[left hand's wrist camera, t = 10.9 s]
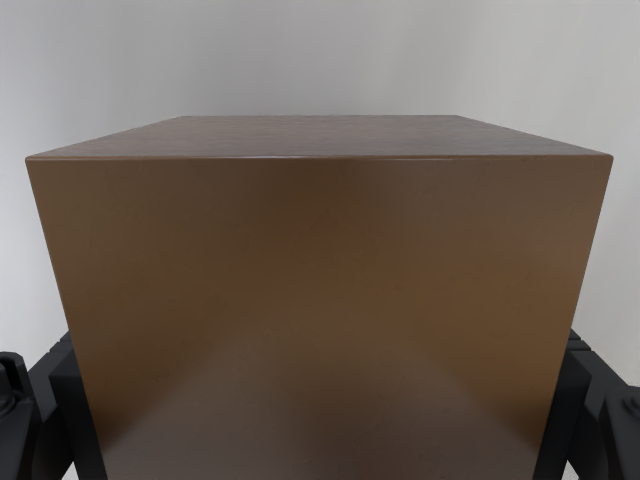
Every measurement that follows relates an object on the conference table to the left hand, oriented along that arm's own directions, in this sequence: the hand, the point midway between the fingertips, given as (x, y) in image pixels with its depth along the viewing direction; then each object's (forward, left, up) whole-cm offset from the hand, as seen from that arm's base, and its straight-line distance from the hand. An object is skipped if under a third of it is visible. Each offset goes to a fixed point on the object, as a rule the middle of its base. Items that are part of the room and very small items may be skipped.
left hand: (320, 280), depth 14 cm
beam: (+22, -16, -1) cm, 27 cm away
